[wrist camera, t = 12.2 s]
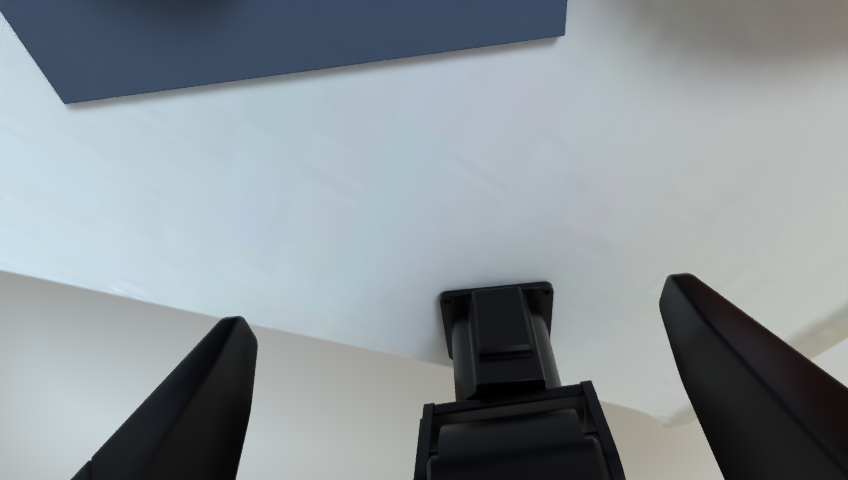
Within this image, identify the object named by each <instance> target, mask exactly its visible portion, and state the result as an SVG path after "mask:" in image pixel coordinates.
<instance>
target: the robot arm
mask: <svg viewBox="0 0 848 480" xmlns="http://www.w3.org/2000/svg"><path fill="white" fill-rule="evenodd" d="M553 293H554V291H553V288H552V284H551V283H549V282H536V283H525V284H515V285H505V286H494V287H484V288H474V289H463V290H453V291H445V292H443V293H441V295H440V306H441V312H442V318H443V324H444V330H445V336H446V342H447V348H448V353H449V358H450V359H452V360H453V365H454V380H455V393H456V402H449V403H442V404H436V405H435V404H434V403H430V404H424V408H423V417H422V419H420V428H419V436H418V446H417V454H416V463H415V472H414V479H413V480H626V478H625V475H624V471H623V468H622V464H621V461H620V458H619V454H618V451H617V448H616V445H615V443H614V440H613V437H612V435H611V432H610V429H609V427H608V424H607V421H606V419H605V416H604V413H603V411H602V408H601V405H600V403H599V400H598V397H597V395H596V392H595V389H594V387H593V384H592V381H591V380H590V381H583V382H580V384H575V385H568V386H561V382H560V378H559V374H558V370H557V366H556V362H555V358H554V354H553V350H552V346H551V342H550V333H551V320H552V307H553ZM447 299H449V300H447ZM659 307H660V312H661V316H662V319H663V322H664V326H665V329H666V332H667V336H668V339H669V342H670V345H671V349H672V352H673V355H674V359H675V362H676V365H677V368H678V371H679V375H680V378H681V380H682V383H683V385H684V388H685V390H686V392H687V395H688V397H689V399H690V401H691V404H692V406H693V408H694V411H695V413H696V415H697V417H698V420H699V422H700V424H701V427H702V429H703V431H704V433H705V436H706V438H707V440H708V442H709V445H710V447H711V450H712V452H713V454H714V456H715V459H716V461H717V463H718V466H719V468H720V470H721V472H722V474H723V477H724V479H725V480H848V388H847V387H846V386H844V385H843V384H842V383H840V382H839V381H838V380H836V379H835V378H833V377H832V376H831V375H829V374H828V373H827V372H825V371H824V370H822V369H821V368H820V367H818V366H817V365H816V364H814V363H813V362H812V361H810V360H809V359H807V358H806V357H805V356H803V355H802V354H801V353H799V352H798V351H796V350H795V349H794V348H792V347H791V346H790V345H788V344H787V343H786V342H784V341H783V340H781V339H780V338H779V337H777V336H776V335H775V334H773V333H772V332H770V331H769V330H768V329H766V328H765V327H764V326H762V325H761V324H760V323H758V322H757V321H755V320H754V319H753V318H751V317H750V316H749V315H747V314H746V313H744V312H743V311H742V310H740V309H739V308H738V307H736V306H735V305H734V304H732V303H731V302H729V301H728V300H727V299H725V298H724V297H723V296H721V295H720V294H719V293H717V292H716V291H714V290H713V289H712V288H710V287H709V286H708V285H706V284H705V283H703V282H702V281H701V280H699V279H698V278H697V277H695V276H694V275H692V274H689V273H682V274H672V275H669V276H668V277H667V279H666V281H665V284H664V288H663V291H662V294H661V297H660V301H659ZM257 348H258V345H257V339H256V337H255V335H254V333H253V332H252V330H251V329H250V327H249V325H248V324H247V322H246V320H245V319H244V318H243V317H241V316H233V317H225V318H223V319H221V320H220V321H219V322H218V323H217V324H216V325H215V326H214V327H213V328H212V329H211V331H210V332H209V333H208V334H207V335H206V336H205V337H204V338H203V339H202V340H201V341H200V342H199V343H198V344H197V346H196V347H195V348H194V349H193V350H192V351H191V352H190V353H189V354H188V355H187V356H186V357H185V358H184V359H183V360H182V361H181V362H180V364H179V365H178V366H177V367H176V368H175V369H174V370H173V371H172V372H171V374H169V375H168V376H167V377H166V379H165V380H164V381H163V382H162V383H161V384H160V385H159V386H158V387H157V388H156V389H155V390H154V391H153V392H152V393H151V395H150V396H149V397H148V398H147V399H146V400H145V401H144V402H143V403H142V404H141V405H140V406H139V407H138V408H137V409H136V411H135V412H134V413H133V414H132V415H131V416H130V417H129V418H128V419H127V420H126V421H125V423H123V424H122V426H121V427H120V428H119V429H118V430H117V431H116V432H115V433H114V434H113V435H112V436H111V437H110V438H109V439H108V440H107V442H106V443H105V444H104V445H103V446H102V447H101V448H100V449H99V450H98V451H97V452H96V453H95V454H94V456H93V457H92V459H91V461H88V462H87V463H86V464H85V465H84V466H83V467H82V468H81V469H80V470H79V471H78V472H77V473H76V474H75V476H74V477H73V478H72V479H71V480H236V475H237V471H238V466H239V462H240V457H241V453H242V449H243V444H244V440H245V435H246V431H247V426H248V422H249V416H250V411H251V404H252V395H253V385H254V376H255V367H256V358H257Z"/></svg>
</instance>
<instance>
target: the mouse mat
mask: <svg viewBox="0 0 848 480" xmlns="http://www.w3.org/2000/svg"><path fill="white" fill-rule="evenodd" d="M566 8H567V0H0V11H1V13H2V14H3V16H4V17H5V19H6V20H7V21H8V23H9V24H10V26H11V27H12V29H13V30H14V32H15V33H16V35H17V36H18V37H19V39H20V40H21V42H22V43H23V45H24V46H25V48H26V49H27V50H28V52H29V53H30V55H31V56H32V58H33V59H34V61H35V62H36V64H37V65H38V66H39V68H40V69H41V71H42V72H43V74H44V75H45V77H46V78H47V80H48V81H49V82H50V84H51V85H52V87H53V88H54V90H55V91H56V93H57V94H58V95H59V97H60V98H61V100H62V101H63V103H64V104H69V103H77V102H84V101H91V100H98V99H106V98H113V97H120V96H127V95H135V94H142V93H149V92H157V91H164V90H171V89H178V88H186V87H193V86H200V85H208V84H215V83H222V82H229V81H237V80H244V79H251V78H259V77H266V76H273V75H280V74H288V73H295V72H302V71H309V70H317V69H324V68H331V67H339V66H346V65H353V64H360V63H368V62H375V61H382V60H390V59H397V58H404V57H411V56H419V55H426V54H433V53H441V52H448V51H455V50H462V49H470V48H477V47H484V46H491V45H499V44H506V43H513V42H521V41H528V40H535V39H542V38H550V37H557V36H564V35H565V23H566Z"/></svg>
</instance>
